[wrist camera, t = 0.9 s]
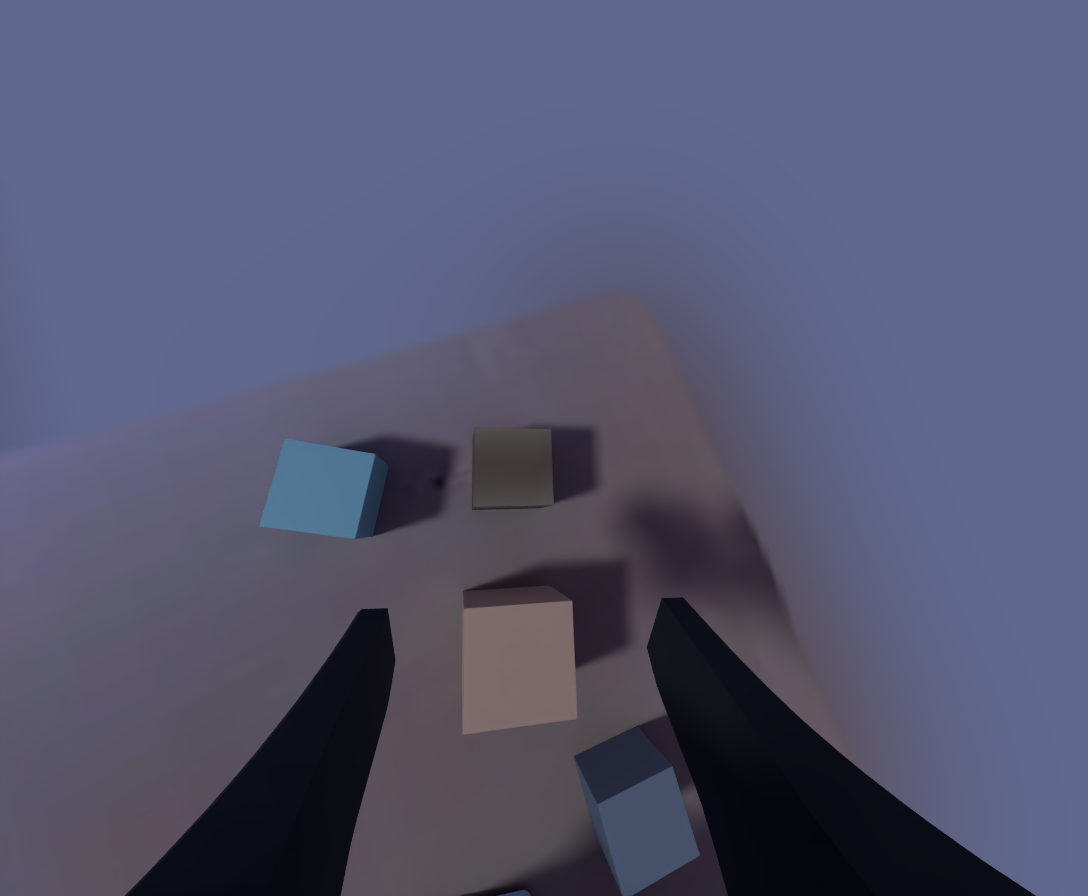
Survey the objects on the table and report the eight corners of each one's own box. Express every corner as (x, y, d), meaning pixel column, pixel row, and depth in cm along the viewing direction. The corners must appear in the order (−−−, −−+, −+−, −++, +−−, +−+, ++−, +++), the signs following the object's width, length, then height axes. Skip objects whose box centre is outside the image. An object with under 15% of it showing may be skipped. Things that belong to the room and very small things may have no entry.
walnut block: (538, 508, 24) (553, 505, 20) (471, 509, 23) (474, 506, 19) (536, 443, 25) (551, 428, 21) (472, 443, 24) (474, 427, 20)
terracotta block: (552, 677, 22) (577, 718, 18) (462, 687, 21) (462, 734, 17) (549, 585, 23) (572, 600, 19) (462, 590, 22) (463, 608, 18)
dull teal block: (373, 536, 22) (355, 538, 18) (295, 525, 21) (259, 526, 17) (389, 465, 23) (375, 454, 19) (314, 453, 22) (284, 438, 18)
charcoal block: (658, 798, 22) (699, 855, 19) (594, 832, 21) (624, 900, 18) (636, 725, 23) (672, 765, 19) (573, 755, 22) (597, 804, 18)
